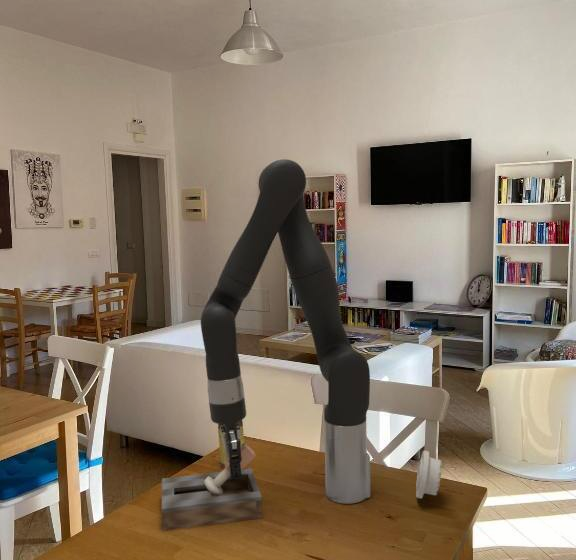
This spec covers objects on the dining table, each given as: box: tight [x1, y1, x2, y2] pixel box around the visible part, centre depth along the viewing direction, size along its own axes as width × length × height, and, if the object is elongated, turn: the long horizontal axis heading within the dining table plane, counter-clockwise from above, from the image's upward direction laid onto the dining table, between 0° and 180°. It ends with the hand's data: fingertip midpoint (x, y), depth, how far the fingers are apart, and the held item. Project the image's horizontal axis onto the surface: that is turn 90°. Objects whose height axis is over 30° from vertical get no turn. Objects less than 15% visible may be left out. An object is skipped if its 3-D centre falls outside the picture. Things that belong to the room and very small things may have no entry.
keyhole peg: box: [204, 442, 256, 496], centre depth 121 cm, size 5×5×12 cm
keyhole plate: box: [161, 468, 263, 531], centre depth 121 cm, size 20×14×5 cm
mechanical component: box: [415, 450, 442, 499], centre depth 123 cm, size 10×4×10 cm, turn 168°
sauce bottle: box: [217, 419, 245, 470], centre depth 141 cm, size 7×6×20 cm
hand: (235, 474), depth 122 cm, fingers closed on keyhole peg, 3 cm apart
